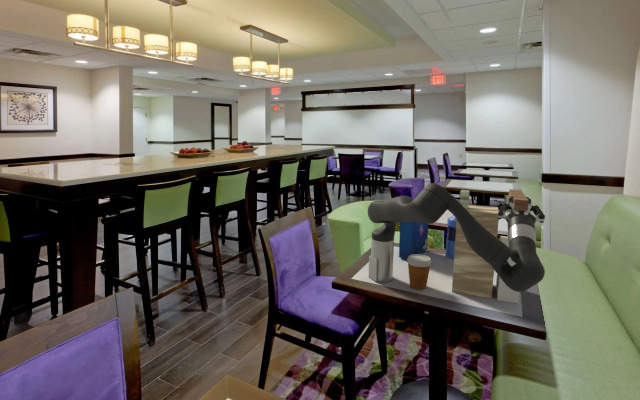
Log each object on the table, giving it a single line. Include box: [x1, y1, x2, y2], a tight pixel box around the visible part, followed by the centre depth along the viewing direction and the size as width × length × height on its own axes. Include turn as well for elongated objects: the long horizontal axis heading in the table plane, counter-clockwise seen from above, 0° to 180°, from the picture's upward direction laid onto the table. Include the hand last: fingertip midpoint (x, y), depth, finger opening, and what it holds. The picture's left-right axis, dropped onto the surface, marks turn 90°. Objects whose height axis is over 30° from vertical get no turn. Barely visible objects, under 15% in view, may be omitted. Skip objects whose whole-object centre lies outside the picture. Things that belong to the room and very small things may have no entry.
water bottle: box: [445, 215, 457, 260], centre depth 181 cm, size 9×9×25 cm
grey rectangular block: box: [495, 235, 521, 304], centre depth 139 cm, size 15×7×20 cm, turn 157°
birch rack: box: [451, 189, 499, 299], centre depth 143 cm, size 14×14×39 cm
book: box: [398, 222, 429, 261], centre depth 183 cm, size 22×7×25 cm, turn 143°
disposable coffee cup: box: [406, 254, 433, 291], centre depth 147 cm, size 10×10×12 cm
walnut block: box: [507, 188, 529, 211], centre depth 131 cm, size 26×4×4 cm, turn 157°
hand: (519, 198), depth 125 cm, fingers closed on walnut block, 4 cm apart
